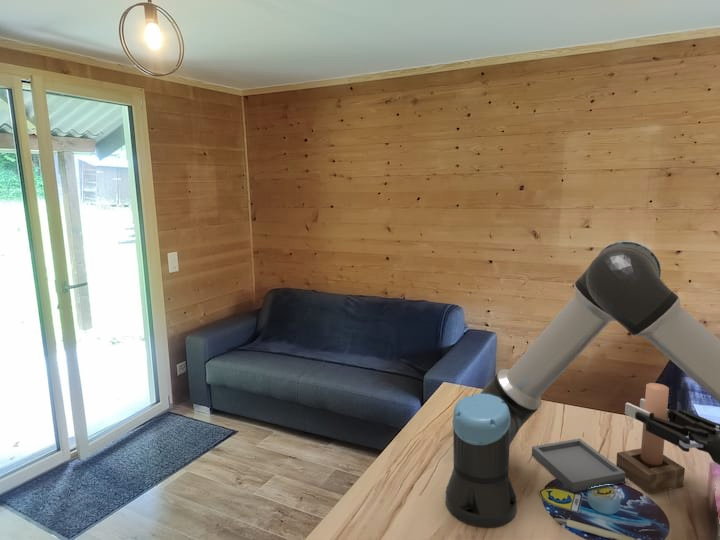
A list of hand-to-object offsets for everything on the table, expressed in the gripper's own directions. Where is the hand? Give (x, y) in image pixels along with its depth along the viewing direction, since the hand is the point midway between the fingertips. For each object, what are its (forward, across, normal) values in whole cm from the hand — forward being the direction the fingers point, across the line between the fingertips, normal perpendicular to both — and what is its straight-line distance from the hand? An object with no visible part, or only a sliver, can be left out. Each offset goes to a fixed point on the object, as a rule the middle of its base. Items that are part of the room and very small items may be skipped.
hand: (633, 406), depth 115 cm
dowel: (-5, 0, -11) cm, 12 cm away
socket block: (-5, 0, -16) cm, 17 cm away
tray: (+5, -12, -16) cm, 21 cm away
